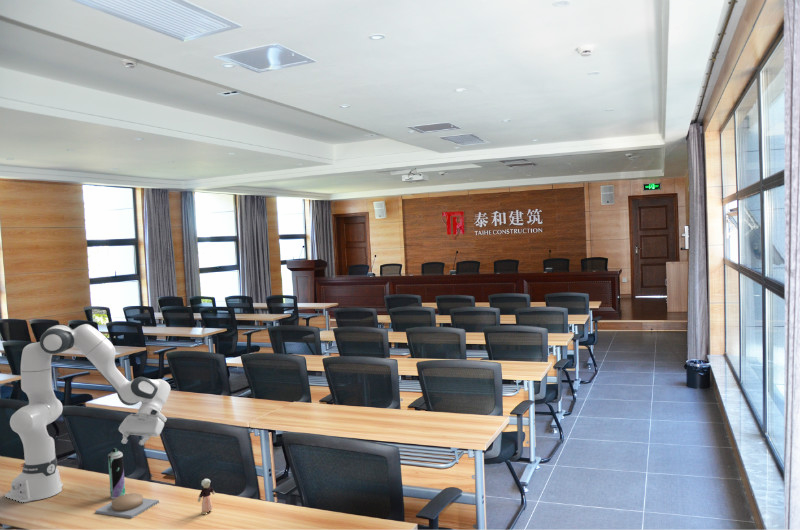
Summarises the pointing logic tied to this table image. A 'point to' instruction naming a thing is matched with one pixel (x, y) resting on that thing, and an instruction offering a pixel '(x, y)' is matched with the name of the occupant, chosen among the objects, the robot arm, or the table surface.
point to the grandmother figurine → (206, 496)
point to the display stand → (127, 505)
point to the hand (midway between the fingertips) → (132, 443)
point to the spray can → (116, 474)
